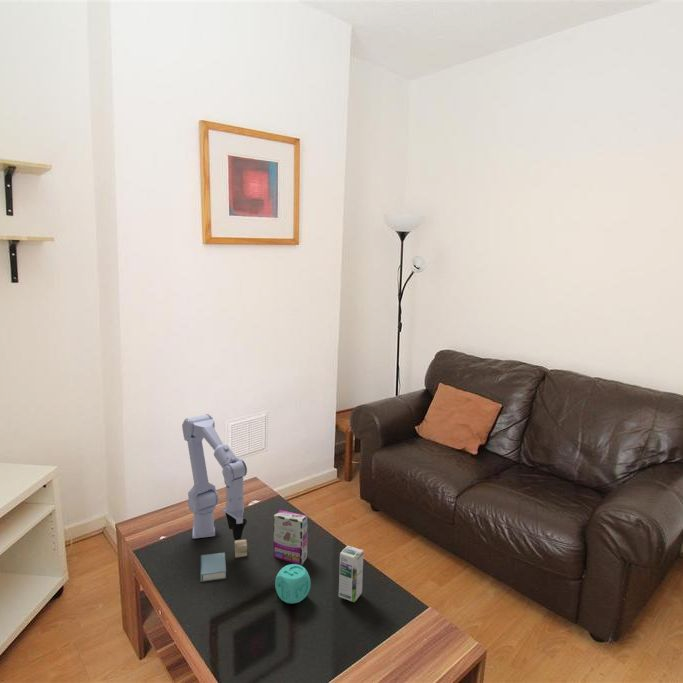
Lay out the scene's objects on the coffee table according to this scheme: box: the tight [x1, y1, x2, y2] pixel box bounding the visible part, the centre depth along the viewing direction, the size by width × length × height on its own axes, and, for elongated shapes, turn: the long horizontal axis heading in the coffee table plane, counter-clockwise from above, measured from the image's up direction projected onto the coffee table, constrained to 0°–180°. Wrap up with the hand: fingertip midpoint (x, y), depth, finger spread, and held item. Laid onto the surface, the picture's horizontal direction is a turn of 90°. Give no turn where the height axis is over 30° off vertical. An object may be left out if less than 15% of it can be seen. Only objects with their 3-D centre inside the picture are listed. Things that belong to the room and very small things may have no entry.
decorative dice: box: [274, 563, 312, 604], centre depth 149 cm, size 8×8×8 cm
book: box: [200, 552, 227, 583], centre depth 161 cm, size 11×8×3 cm
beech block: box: [234, 539, 248, 558], centre depth 169 cm, size 4×4×5 cm
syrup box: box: [338, 545, 364, 603], centre depth 150 cm, size 6×6×14 cm
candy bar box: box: [272, 509, 309, 566], centre depth 168 cm, size 11×5×16 cm, turn 68°
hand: (234, 533), depth 166 cm, fingers open, 7 cm apart
